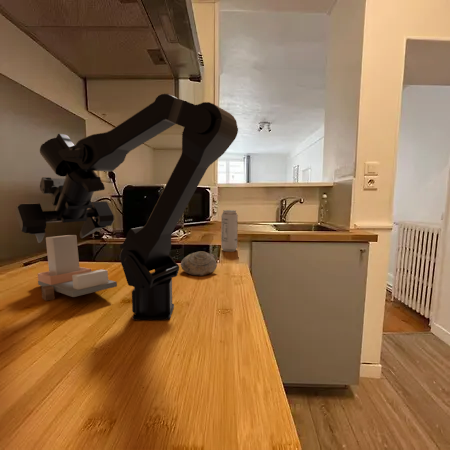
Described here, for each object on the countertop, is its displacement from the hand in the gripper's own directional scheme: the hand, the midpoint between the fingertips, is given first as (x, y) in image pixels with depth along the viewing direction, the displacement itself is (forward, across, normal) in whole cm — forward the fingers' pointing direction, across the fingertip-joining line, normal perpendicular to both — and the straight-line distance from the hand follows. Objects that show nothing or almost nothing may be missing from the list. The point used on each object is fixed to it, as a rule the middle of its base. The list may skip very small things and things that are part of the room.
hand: (60, 238), depth 71 cm
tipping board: (+2, 0, +12) cm, 12 cm away
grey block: (+6, 0, +8) cm, 9 cm away
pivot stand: (+3, 0, +13) cm, 13 cm away
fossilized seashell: (-2, -32, +18) cm, 36 cm away
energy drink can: (+8, -58, +8) cm, 60 cm away
